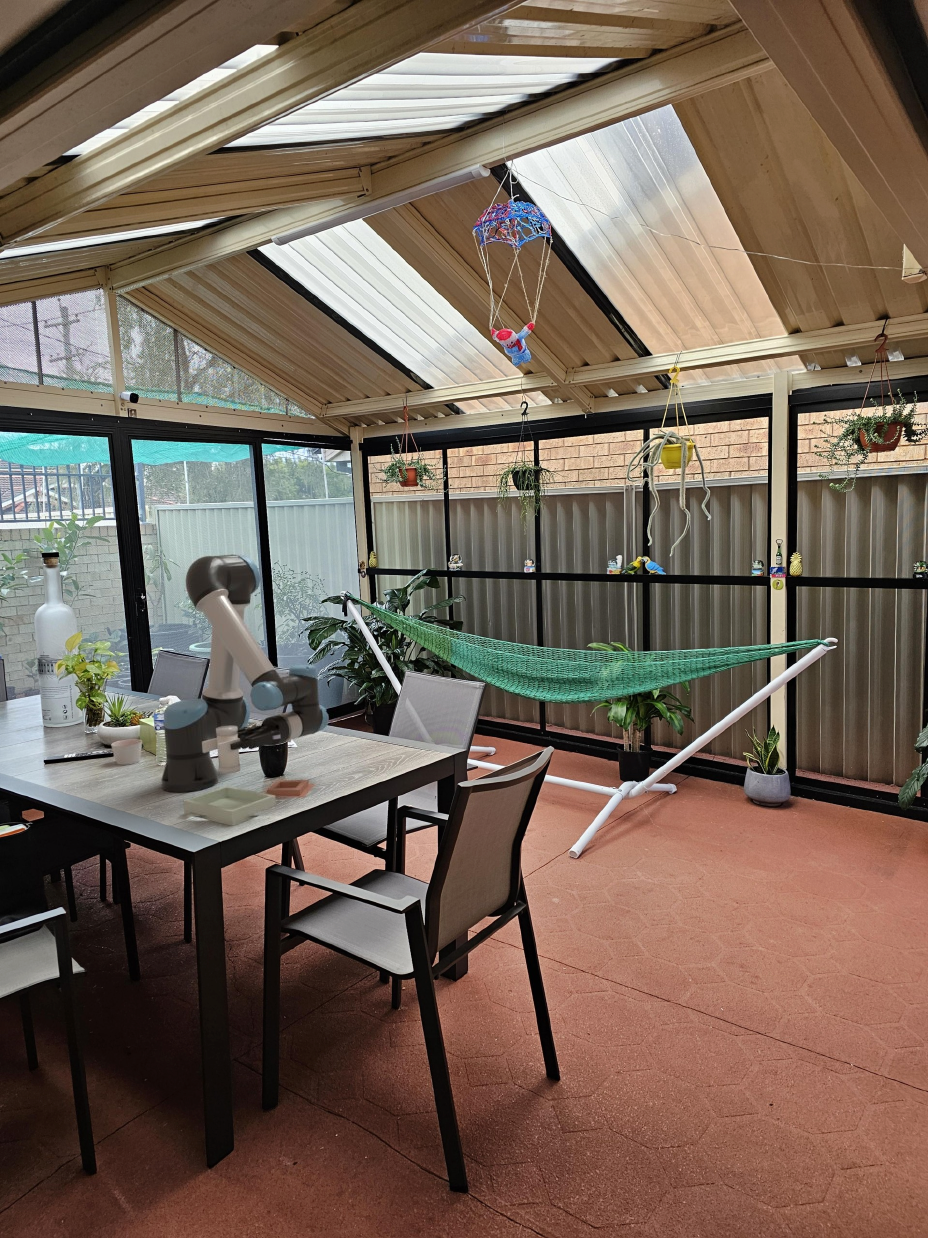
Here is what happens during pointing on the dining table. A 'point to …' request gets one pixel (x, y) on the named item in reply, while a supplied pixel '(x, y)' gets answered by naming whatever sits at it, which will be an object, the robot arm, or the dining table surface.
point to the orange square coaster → (289, 788)
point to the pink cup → (127, 751)
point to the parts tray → (229, 805)
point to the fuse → (231, 759)
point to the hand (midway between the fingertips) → (211, 748)
